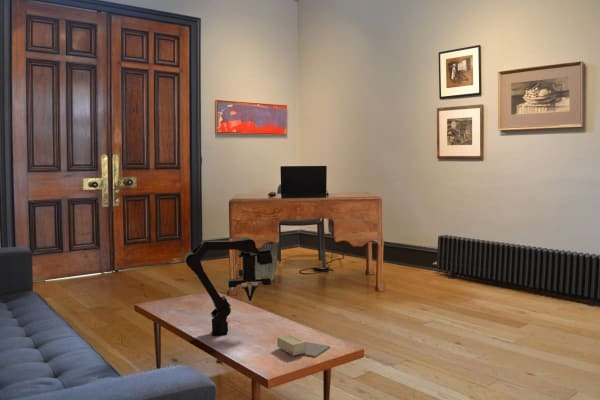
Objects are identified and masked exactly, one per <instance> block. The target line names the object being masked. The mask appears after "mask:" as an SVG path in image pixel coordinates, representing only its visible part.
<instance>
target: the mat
mask: <svg viewBox="0 0 600 400" xmlns="http://www.w3.org/2000/svg"><path fill="white" fill-rule="evenodd" d="M305 342H306V353H302V354H299V355H301V356H306V357H311V358H317V357H318V356H320V355H321V354H323V353H324V352H326V351H327V350H329V349H330V348H331V346H330V345H324V344H320V343H313V342H310V341H305ZM284 352H285V353H286V351H284Z"/></svg>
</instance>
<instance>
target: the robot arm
mask: <svg viewBox="0 0 600 400" xmlns="http://www.w3.org/2000/svg"><path fill="white" fill-rule="evenodd" d="M224 250H226V251H227V250H230V251H231V250H232V251H233V250H235V251H240V252H238V254H237V258H241V265H242V268H241V269H238V277H239V278H241V277H242V278H241V279H238V278H235V277H234V278H229V279H228V280H227V286H228V288H230V289H231V288H237V286H238V285H240V288H241V289H243V290H244V291H245V294H246V295H247V298H248V301H249V302H251V301H252V298H253V295H254V293H255V291H256V289H257V288H259V284H262V285H263V286H271V285H272V280H271V277H270V276H269V275H267V276H260V278H256V264H258V266H267V265H268V266H269V265H272V264H273V254H272V252H271V249H268V248H267V249H260V250H259V248H258V247H257V246H256V242H255V241H254V240H253V239H252V238H250V237H247V236H246V237H242V238H238V239H234V240H233V239H232V240H206V239H205V240H203V241H201V243H200V244H198V245H197V246H196V247H194V248H193V250H191V251H189V252H187V253H186V254H185V255H184V259H183V261H184V263H185V264H186V265H187V267H188V268H189V269H190V270H191V271H192V272H193V273H194V274H195V275H196V276H197V278H198V279H199V281H200V283H201V285H202V286H203V288H204V289H205V291H206V292H207V294H208V295H209V297H210V299H211V301H212V304H213V306H214V309H212V311H211V312H210V316H211V336H213V337H215V336H225V335H226V336H227V335H228V332H229V323H228V320H227V319H228V316H230V314H231V311H232V309H231V304H230V302H228V300H227V298H226V296H225V295H222V296H221V295H220V293H219V292H218V291H217V289H216V288H215V286H214V285H213V283H212V281H211V280H210V279H209V277H208V275H207V274H206V272H205V270H204V268H203V265H202V263H201V260H202V259H203V257H204V256H206V254H207V252H209V251H224ZM249 285H250V289H249Z"/></svg>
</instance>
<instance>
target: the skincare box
mask: <svg viewBox="0 0 600 400" xmlns="http://www.w3.org/2000/svg"><path fill="white" fill-rule="evenodd" d="M276 338H277V342H276V343H277V348H279V349H281V350H283V351H284V352H285V351H286V352H287V353H288V354H290V355H292V356H297V355H298V356H299V355H300V354H302V353H306V342H307V341H305V340H303V339H301V338H299V337H296V336H295V335H292V334H291V333H287V334H283V335H279V336H276ZM286 352H285V353H286Z"/></svg>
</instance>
